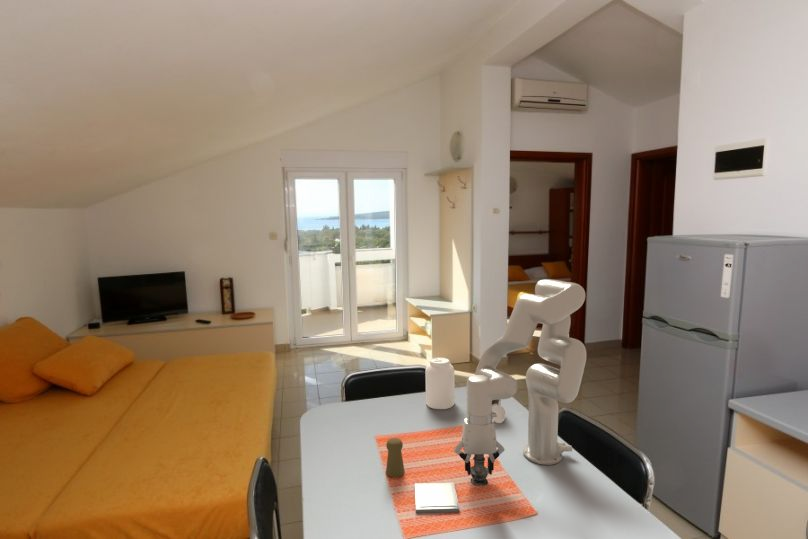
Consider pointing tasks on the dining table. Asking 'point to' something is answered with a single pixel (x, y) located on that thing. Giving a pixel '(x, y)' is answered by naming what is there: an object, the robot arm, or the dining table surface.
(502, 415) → the spread jar
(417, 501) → the coaster
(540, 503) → the dining table surface
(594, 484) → the dining table surface
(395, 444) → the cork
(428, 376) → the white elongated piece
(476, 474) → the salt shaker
